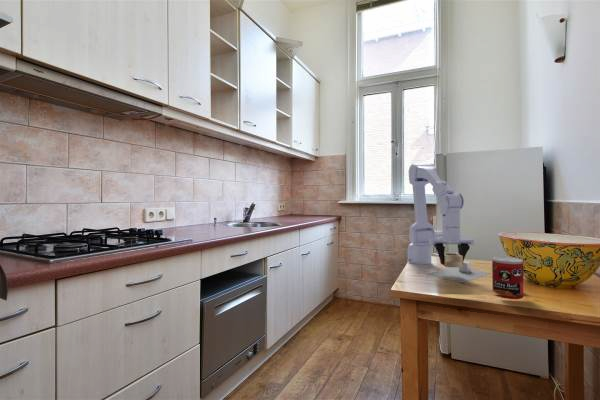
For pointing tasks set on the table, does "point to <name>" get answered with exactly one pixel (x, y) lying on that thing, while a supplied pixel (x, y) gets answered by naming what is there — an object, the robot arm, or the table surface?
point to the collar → (453, 260)
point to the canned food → (507, 277)
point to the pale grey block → (465, 267)
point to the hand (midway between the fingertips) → (451, 264)
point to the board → (458, 274)
